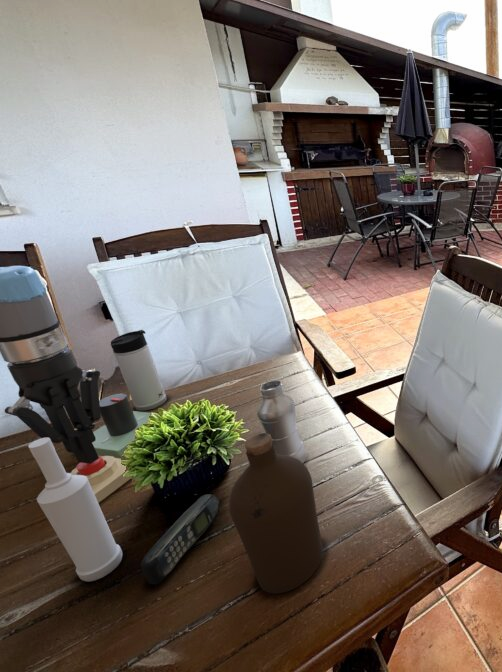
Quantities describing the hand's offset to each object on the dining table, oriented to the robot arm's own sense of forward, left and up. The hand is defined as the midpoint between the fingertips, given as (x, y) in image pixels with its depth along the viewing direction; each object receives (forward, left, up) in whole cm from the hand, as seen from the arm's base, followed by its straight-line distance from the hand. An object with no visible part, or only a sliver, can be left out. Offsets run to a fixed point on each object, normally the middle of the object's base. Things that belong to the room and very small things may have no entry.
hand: (89, 460), depth 78 cm
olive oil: (+49, -9, -6) cm, 50 cm away
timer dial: (-8, +12, -3) cm, 15 cm away
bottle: (+19, -14, -6) cm, 24 cm away
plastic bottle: (+35, +10, -6) cm, 37 cm away
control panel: (-8, +12, -6) cm, 16 cm away
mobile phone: (+29, -8, -6) cm, 31 cm away
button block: (0, 0, -6) cm, 6 cm away
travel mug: (-15, +24, -6) cm, 29 cm away
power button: (0, 0, -2) cm, 2 cm away
